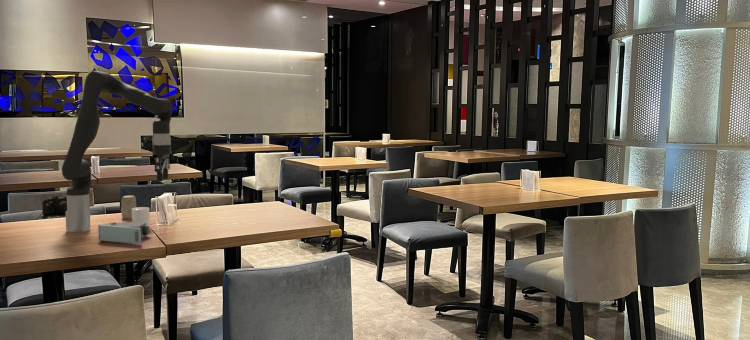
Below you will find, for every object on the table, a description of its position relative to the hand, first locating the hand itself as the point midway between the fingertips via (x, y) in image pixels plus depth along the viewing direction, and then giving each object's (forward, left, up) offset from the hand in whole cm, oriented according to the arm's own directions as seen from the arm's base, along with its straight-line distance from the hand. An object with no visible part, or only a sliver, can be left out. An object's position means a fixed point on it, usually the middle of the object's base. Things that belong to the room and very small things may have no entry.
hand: (162, 180), depth 250 cm
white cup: (-15, +13, -25) cm, 32 cm away
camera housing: (-15, -7, -25) cm, 30 cm away
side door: (-23, -12, -25) cm, 36 cm away
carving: (-31, +40, -25) cm, 57 cm away
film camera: (-74, +58, -25) cm, 98 cm away
